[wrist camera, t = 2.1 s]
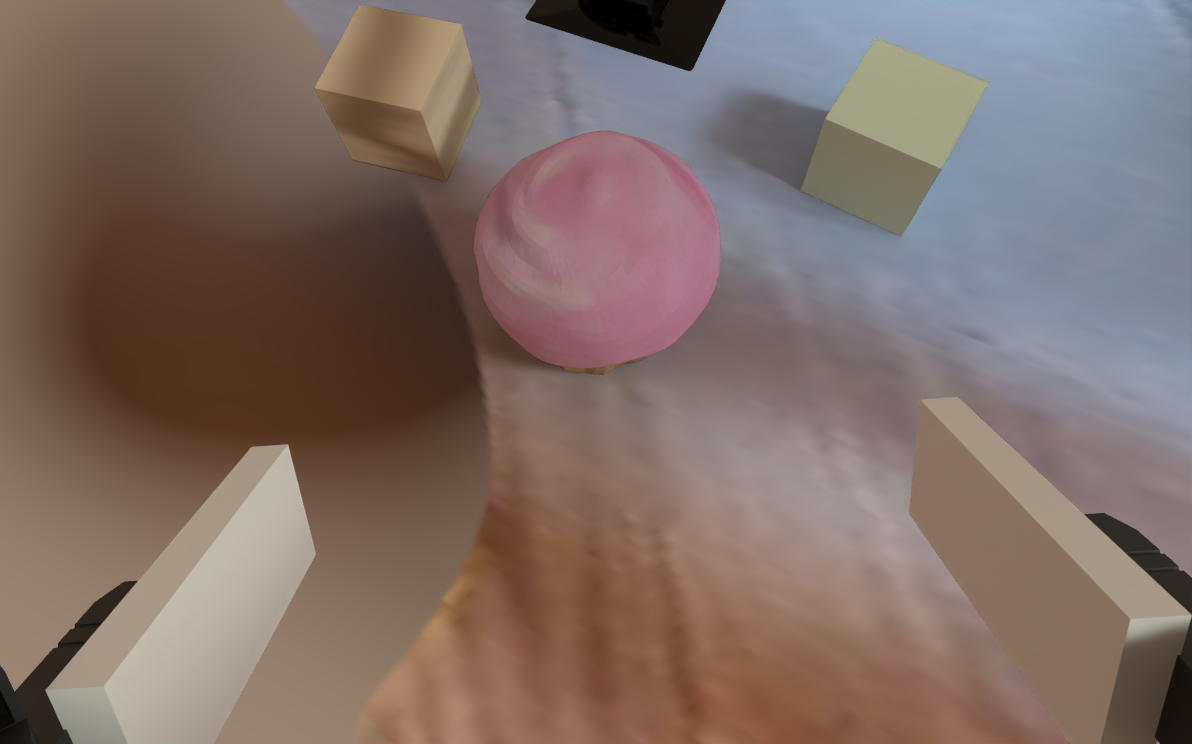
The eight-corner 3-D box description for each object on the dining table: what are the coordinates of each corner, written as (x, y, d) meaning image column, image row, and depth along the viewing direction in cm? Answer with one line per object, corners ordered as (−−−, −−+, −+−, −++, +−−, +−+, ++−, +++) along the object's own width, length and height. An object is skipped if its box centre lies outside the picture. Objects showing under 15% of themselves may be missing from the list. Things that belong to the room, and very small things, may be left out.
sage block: (943, 159, 37) (988, 82, 32) (900, 237, 35) (941, 169, 30) (845, 117, 38) (875, 37, 33) (800, 191, 36) (824, 118, 32)
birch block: (481, 102, 39) (461, 24, 34) (446, 182, 37) (420, 111, 33) (391, 83, 40) (359, 4, 35) (353, 160, 38) (314, 87, 33)
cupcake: (659, 216, 36) (668, 53, 27) (737, 377, 33) (778, 255, 23) (477, 279, 35) (422, 133, 26) (539, 451, 32) (501, 354, 23)
